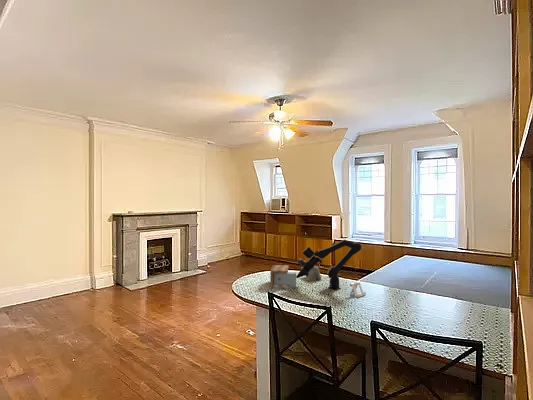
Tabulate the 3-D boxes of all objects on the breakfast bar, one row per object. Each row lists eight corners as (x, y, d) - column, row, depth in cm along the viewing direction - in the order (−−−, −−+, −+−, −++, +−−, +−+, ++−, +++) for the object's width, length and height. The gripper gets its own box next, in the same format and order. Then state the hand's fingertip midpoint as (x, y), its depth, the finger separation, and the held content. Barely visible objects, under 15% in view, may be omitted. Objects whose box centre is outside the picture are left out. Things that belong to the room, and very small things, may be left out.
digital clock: (322, 280, 249) (322, 267, 248) (311, 281, 247) (311, 267, 247) (315, 275, 264) (315, 262, 264) (304, 276, 263) (304, 263, 263)
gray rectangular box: (296, 286, 233) (296, 272, 233) (295, 288, 228) (296, 274, 228) (274, 285, 235) (274, 271, 235) (273, 287, 230) (273, 273, 230)
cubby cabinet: (290, 281, 245) (290, 265, 245) (289, 288, 227) (289, 270, 227) (273, 280, 247) (273, 264, 247) (270, 287, 229) (270, 270, 229)
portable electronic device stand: (358, 298, 207) (358, 285, 206) (348, 295, 213) (348, 282, 213) (365, 295, 212) (366, 283, 212) (355, 292, 218) (355, 280, 218)
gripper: (304, 252, 239) (289, 266, 241) (303, 257, 221) (287, 272, 222) (314, 263, 238) (299, 277, 240) (315, 269, 220) (299, 284, 221)
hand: (296, 277), depth 231 cm, fingers closed, pressing on gray rectangular box
